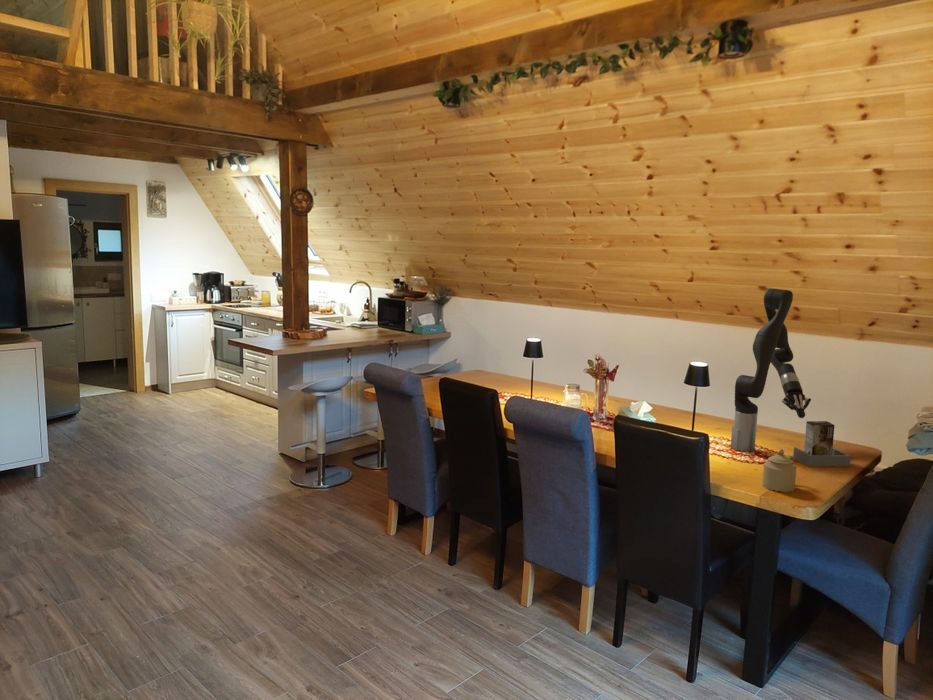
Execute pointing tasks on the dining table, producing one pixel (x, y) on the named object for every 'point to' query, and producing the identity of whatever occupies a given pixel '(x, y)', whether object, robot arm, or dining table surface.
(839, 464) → the box
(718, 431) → the dining table surface
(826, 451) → the coffee box
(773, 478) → the sugar bowl
